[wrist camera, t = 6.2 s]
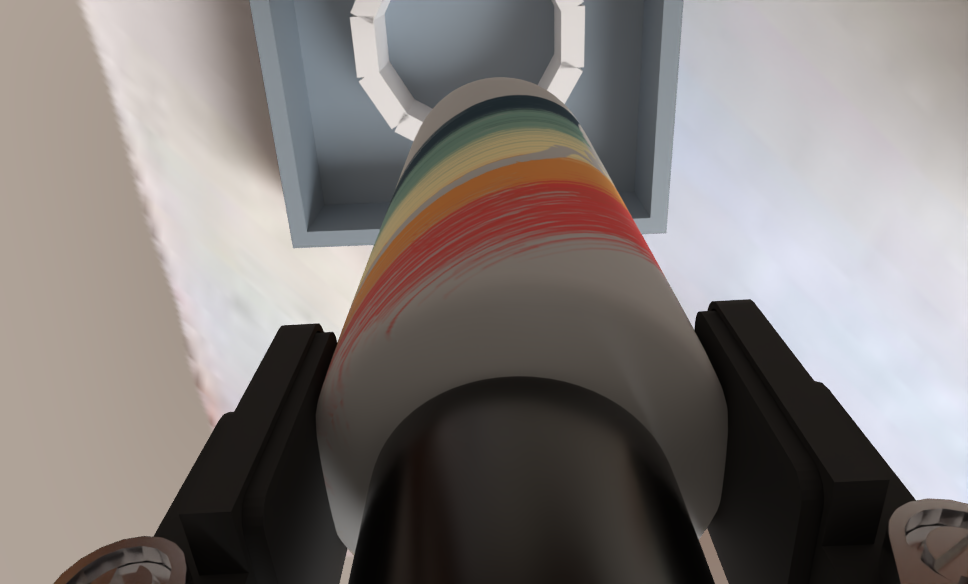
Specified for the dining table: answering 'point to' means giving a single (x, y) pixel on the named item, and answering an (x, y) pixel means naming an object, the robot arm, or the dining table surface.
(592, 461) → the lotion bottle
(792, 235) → the dining table surface
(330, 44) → the socket box
